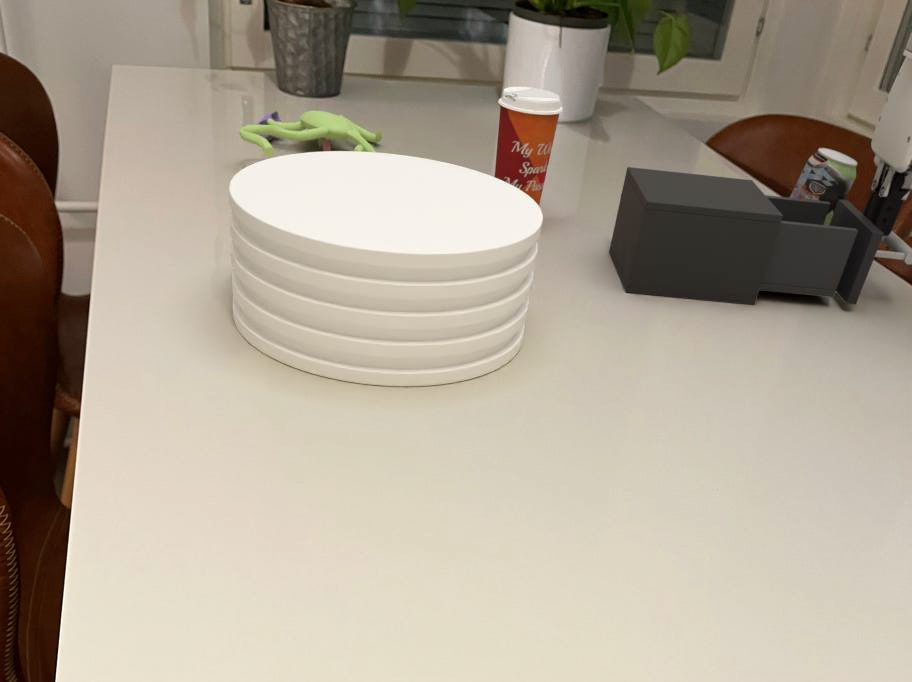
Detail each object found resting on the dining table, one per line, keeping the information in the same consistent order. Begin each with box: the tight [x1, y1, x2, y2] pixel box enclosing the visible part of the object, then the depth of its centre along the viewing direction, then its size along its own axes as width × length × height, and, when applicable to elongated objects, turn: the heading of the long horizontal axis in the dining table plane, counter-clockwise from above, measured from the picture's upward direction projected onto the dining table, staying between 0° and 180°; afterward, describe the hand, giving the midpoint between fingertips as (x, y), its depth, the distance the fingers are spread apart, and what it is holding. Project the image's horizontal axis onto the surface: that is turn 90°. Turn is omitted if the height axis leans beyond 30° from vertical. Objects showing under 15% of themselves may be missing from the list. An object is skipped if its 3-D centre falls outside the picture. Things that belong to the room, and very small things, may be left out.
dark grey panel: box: [759, 194, 912, 305], centre depth 111 cm, size 19×11×8 cm, turn 91°
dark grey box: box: [608, 166, 783, 306], centre depth 110 cm, size 15×13×10 cm
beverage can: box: [789, 147, 858, 226], centre depth 121 cm, size 6×7×12 cm
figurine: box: [238, 110, 383, 158], centre depth 133 cm, size 18×27×6 cm
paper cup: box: [494, 86, 564, 207], centre depth 120 cm, size 8×8×14 cm
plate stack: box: [228, 150, 544, 387], centre depth 92 cm, size 28×28×12 cm
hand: (873, 232), depth 110 cm, fingers closed
